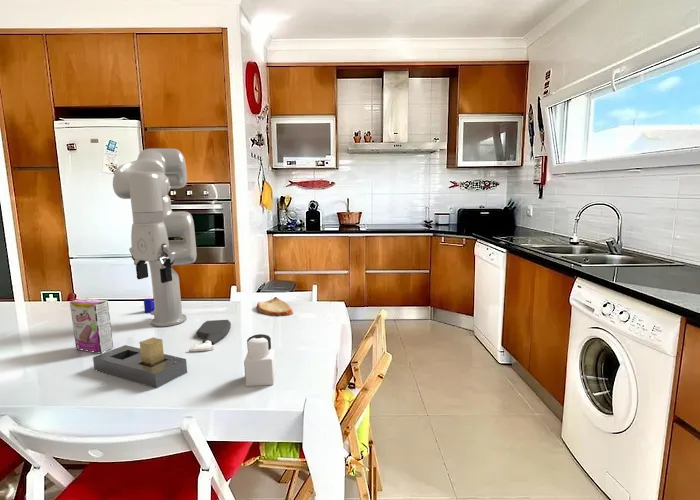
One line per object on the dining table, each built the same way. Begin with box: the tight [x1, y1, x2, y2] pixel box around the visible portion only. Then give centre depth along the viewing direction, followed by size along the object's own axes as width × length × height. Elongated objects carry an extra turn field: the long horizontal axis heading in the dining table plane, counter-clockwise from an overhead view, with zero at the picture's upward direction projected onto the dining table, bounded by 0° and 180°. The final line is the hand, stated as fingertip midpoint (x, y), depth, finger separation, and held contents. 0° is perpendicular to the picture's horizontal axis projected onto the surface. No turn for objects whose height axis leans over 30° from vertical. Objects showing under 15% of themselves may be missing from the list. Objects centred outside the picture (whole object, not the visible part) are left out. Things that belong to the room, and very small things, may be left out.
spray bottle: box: [188, 319, 232, 353], centre depth 143 cm, size 3×11×24 cm
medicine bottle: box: [243, 333, 277, 387], centre depth 110 cm, size 7×7×12 cm
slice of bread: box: [256, 297, 294, 317], centre depth 174 cm, size 18×18×4 cm
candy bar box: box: [69, 297, 114, 354], centre depth 134 cm, size 11×5×16 cm, turn 71°
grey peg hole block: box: [92, 344, 188, 389], centre depth 117 cm, size 26×10×4 cm, turn 63°
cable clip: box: [143, 298, 155, 314], centre depth 180 cm, size 12×4×6 cm, turn 174°
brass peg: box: [139, 337, 165, 367], centre depth 114 cm, size 4×4×10 cm
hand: (154, 280), depth 115 cm, fingers open, 9 cm apart
